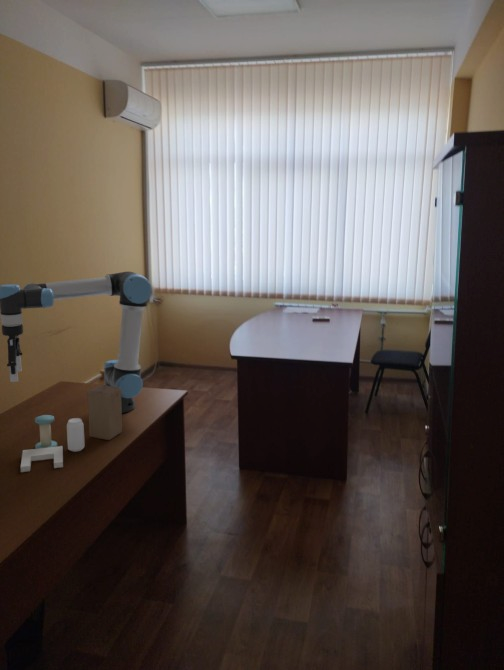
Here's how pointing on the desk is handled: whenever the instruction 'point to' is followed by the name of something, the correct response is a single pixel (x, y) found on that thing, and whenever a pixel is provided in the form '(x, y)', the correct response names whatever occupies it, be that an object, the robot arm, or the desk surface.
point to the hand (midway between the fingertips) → (16, 376)
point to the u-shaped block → (42, 456)
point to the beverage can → (75, 434)
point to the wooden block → (105, 412)
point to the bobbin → (45, 431)
